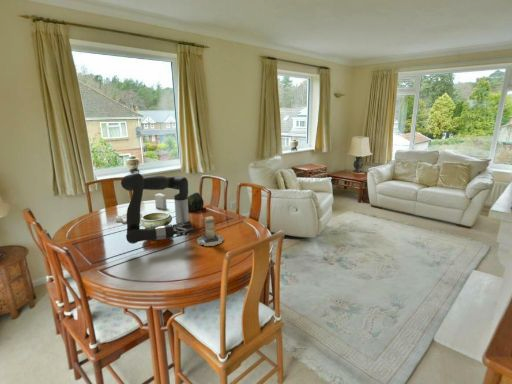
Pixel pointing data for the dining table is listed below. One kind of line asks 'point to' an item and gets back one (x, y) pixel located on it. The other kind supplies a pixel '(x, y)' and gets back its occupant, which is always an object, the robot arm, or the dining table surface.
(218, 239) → the rosette plate
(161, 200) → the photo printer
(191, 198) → the squash
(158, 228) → the robot arm
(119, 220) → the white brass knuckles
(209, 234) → the wedge peg
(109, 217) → the dining table surface
